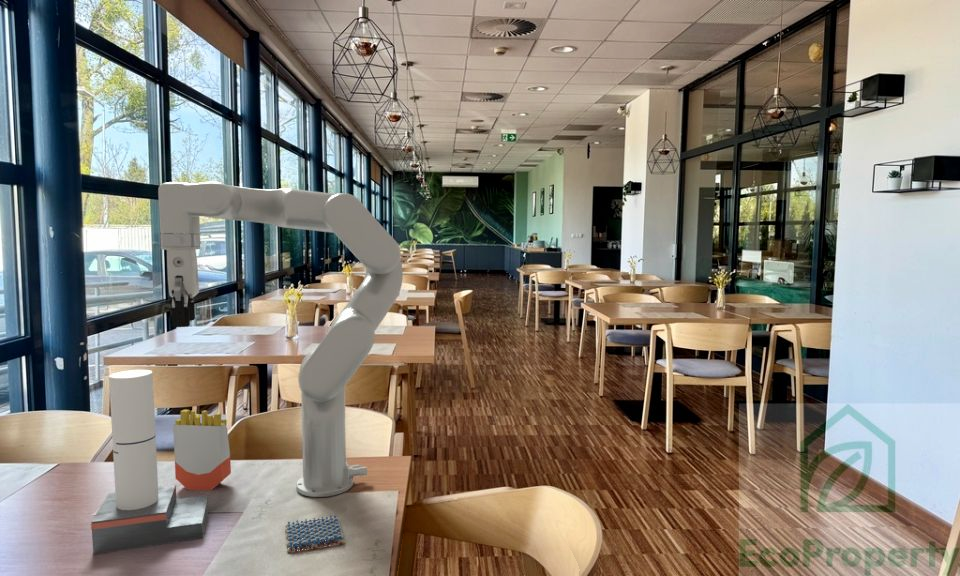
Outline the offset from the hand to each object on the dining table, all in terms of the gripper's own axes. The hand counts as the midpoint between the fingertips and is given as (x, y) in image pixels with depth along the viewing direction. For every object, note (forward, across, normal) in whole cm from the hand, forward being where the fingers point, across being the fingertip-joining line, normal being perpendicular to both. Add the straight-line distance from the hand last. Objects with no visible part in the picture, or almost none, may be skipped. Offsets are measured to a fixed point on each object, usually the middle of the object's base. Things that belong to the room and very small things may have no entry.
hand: (184, 323), depth 130 cm
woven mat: (+39, -26, -24) cm, 53 cm away
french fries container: (+38, +6, -2) cm, 39 cm away
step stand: (+38, -14, +5) cm, 41 cm away
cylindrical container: (+32, -13, +8) cm, 36 cm away
